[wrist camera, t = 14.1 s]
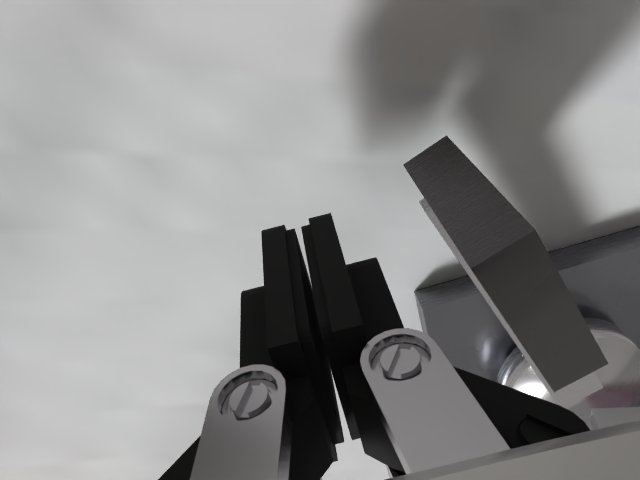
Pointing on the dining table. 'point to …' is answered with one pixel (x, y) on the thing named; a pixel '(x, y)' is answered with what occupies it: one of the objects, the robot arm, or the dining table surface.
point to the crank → (524, 290)
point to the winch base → (581, 281)
